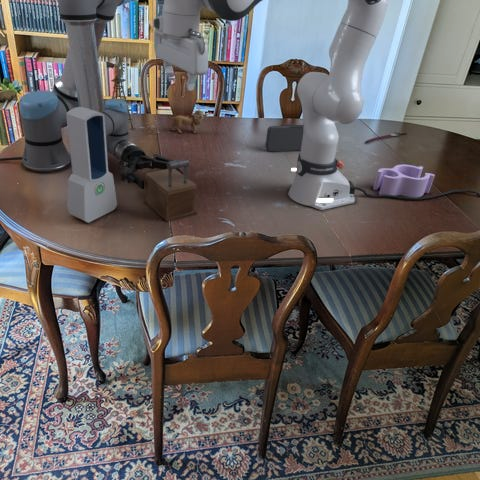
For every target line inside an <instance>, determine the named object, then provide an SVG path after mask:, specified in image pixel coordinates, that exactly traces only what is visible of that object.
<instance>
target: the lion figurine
mask: <svg viewBox="0 0 480 480" xmlns="http://www.w3.org/2000/svg"><path fill="white" fill-rule="evenodd" d="M203 120H204V111H202V110H200V109H197V110H195V111H194V112H193V113H192V114H190V115H189V116H183V115H176V116H175V117H174V118H173V119H172V123H171V127H170V128H169V130H168V131H169V132H171V131H176V130H177V132H178V133H179V134H182V133H183V132H182V130H180V128H181V126H182V125H183V126H186V127H189V126H190V132H192V133H193V134H196V133H197V130H196V127H197V126H200V124H201V123H202V122H203ZM176 126H177V127H176ZM175 127H176V128H175Z"/></svg>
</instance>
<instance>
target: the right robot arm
mask: <svg viewBox="0 0 480 480" xmlns="http://www.w3.org/2000/svg"><path fill="white" fill-rule="evenodd" d="M388 1H389V0H347V7H346V10H345V11H344V14H343V15H342V17H341V20H340V23H339V24H338V27H337V29H336V31H335V34H334V37H333V39H332V41H331V44H330V46H329V49H328V56H329V60H330V67H329V68H330V69H329V74H327V73H326V72H320V71H311V72H310V71H309V72H307V73H305V74H304V75H303V76H301V78H300V79H299V81H298V84H297V89H296V93H297V96H298V98H299V101H300V104H301V105H300V106H301V111H302V113H301V114H302V123H303V124H302V125H303V139H302V145H301V150H300V151H299V153H298V156H297V161H296V166H295V167H291V170H290V171H291V172H295V174H294V175H295V176H294V178H293V181H292V184H291V186H290V188H289V190H288V193H287V194H288V196H289V198H290V199H291V200H292V201H294V202H296V203H298V204H300V205H303V206H307V207H312V208H315V209H317V210H319V211H324V210H328V209H332V208H338V207H341V206H345V205H346V206H347V205H351V204H354V203H355V202H356V198H355V196H354V195H355V191H356V190H357V191H360V192H362V193H363V195H365V196H366V197H369V198H376V199H377V198H388V199H389V198H390V199H398V200H403V201H404V200H405V201H420V200H421V201H422V200H423V201H424V200H429V199H434V198H438V197H441V196H446V195H450V194H454V193H455V194H456V193H471V194H475V193H476V194H475V195H477V196H478V197H479V198H480V192H478V191H476V190H473V189H452V190H448V191H445V192H440V193H437V194H434V195H428V196H421V197H406V196H401V195H396V196H393V195H380V194H370V193H368V192H367V191H366V190H365V189H364V188H361V187H359V186H355V185H354V184H353V182H352V181H351V180H348V178H346V176H345V175H344V174H343V173H342V172H341V171H339V170H338V169H340V170H342V169H344V167H345V163H343V162H342V161H341V160H338V159H337V158H336V155H337V154H336V153H337V149H338V144H339V140H340V139H339V138H340V137H339V132H338V129H337V127H336V124H340V125H350V124H353V123H354V122H355V121H357V119H359V117H360V116H361V114H362V112H363V110H364V98H363V95H362V79H363V73H364V68H365V65H366V62H367V60H368V57H369V56H370V54H371V51H372V48H373V46H374V44H375V42H376V40H377V37H378V35H379V33H380V30H381V28H382V25H383V22H384V19H385V16H386V13H387V9H388V5H389V2H388ZM261 2H263V0H163V5H162V7H161V8H162V9H161V13H162V14H161V15H159V16H157V17H154V18H153V19H152V27H153V28H154V31H153V49H154V54H155V57H156V58H157V59H159V60H161V61H163V67H164V71H165V76H166V77H165V78H166V80H167V81H171V82H172V81H175V80H176V73H175V72H174V68H173V66H174V67H176V68H179V69H180V70H182V71H184V72H187V73H186V74H187V81H185V82H184V88H185V90H187V91H190V92H191V91H194V90H195V84H196V81H197V79H198V76H205V75H207V74H208V71H209V49H208V45H207V43H206V39H205V37H204V34H203V33H202V32H200V23H201V22H200V21H201V10H203V9H206V10H208V11H210V12H212V13H213V14H216V15H217V16H219V17H220V18H221V19H223V20H225V21H228V22H236V21H239V20H242V19H244V18H245V17H246V16H247V15H248V14H249V13H251V12H252V10H253V9H254V8H255V7H256V6H257V5H258V4H260V3H261ZM465 191H466V192H465Z"/></svg>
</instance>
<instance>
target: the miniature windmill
mask: <svg viewBox="0 0 480 480" xmlns="http://www.w3.org/2000/svg"><path fill="white" fill-rule="evenodd" d="M105 65H106V68H107V69H113V68H114V70H115V71H114V73H115V78H113V79H111V80H110V81H111V82H112V83H114V85H113V86H112V88H113V90H112V96H111V98H110V99H118V98H119V99H121V100H124V101H125V102H126V103H127V109H128V124H130V126H131V129H134V125H133V119H132V116H131V112H130V107H129V105H128V101H127V96H126V93H125V90H124V86H123V83H124V82H125V81H127V79H125V78H123V76H124V74H125V70H124V69H126V67H125V65H126V63H125V60H124V56H121V53H119V54H118V56H116V60H115V63H113V62H111V61H107V60H106V64H105ZM121 91H122V92H121ZM118 92H119V95H118ZM122 94H123V95H122Z"/></svg>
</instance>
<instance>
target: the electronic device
mask: <svg viewBox="0 0 480 480" xmlns="http://www.w3.org/2000/svg"><path fill="white" fill-rule="evenodd" d="M66 118H67V126H66V128H67V135H68V143H69V155H70V159H71V171H72V173H71V174H70V176H69V177H68V180H67V195H66V196H67V198H66V209H67V211H68V213H69V215H71V216H73V217H75V218H77V219H79V220H81V221H83V222H85V223H88V224H90V223H91V222H93V221H95V220H97V219H99V218H101V217H103V216H105V215H108V214H109V213H111V212H113V211H114V210H115V209H116V208H117V206H118V200H117V193H116V188H115V187H116V186H115V180H114V179H115V178H114V174H113V173H112V172H110V171H109V162H108V161H109V160H108V151H107V145H106V130H105V115H104V114H103V113H100V112H97V111H94V110H91V109H88V108H84V107H77V108H73V109H71V110H70V111H68V112H67V113H66Z"/></svg>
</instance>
